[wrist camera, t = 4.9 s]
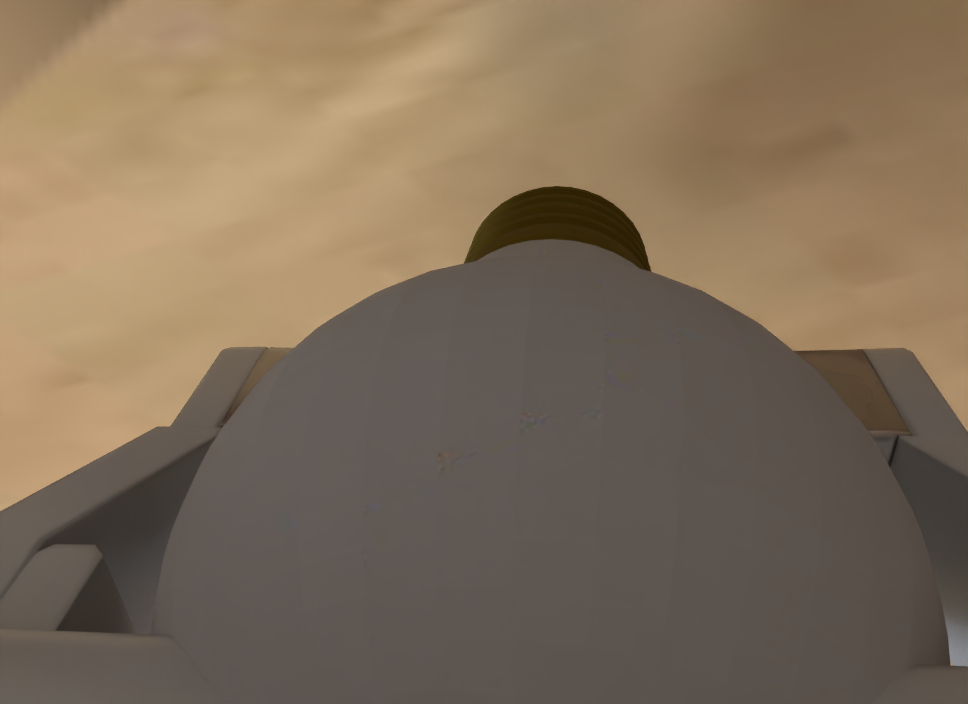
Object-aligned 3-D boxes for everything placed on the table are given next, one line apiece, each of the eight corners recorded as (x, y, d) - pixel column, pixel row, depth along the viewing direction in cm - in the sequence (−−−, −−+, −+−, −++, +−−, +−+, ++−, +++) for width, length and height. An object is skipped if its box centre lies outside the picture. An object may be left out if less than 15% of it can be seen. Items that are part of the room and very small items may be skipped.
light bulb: (826, 284, 12) (1336, 1236, 4) (522, 449, 15) (445, 1255, 6) (608, -51, 10) (738, 508, 2) (293, 209, 13) (-273, 958, 4)
